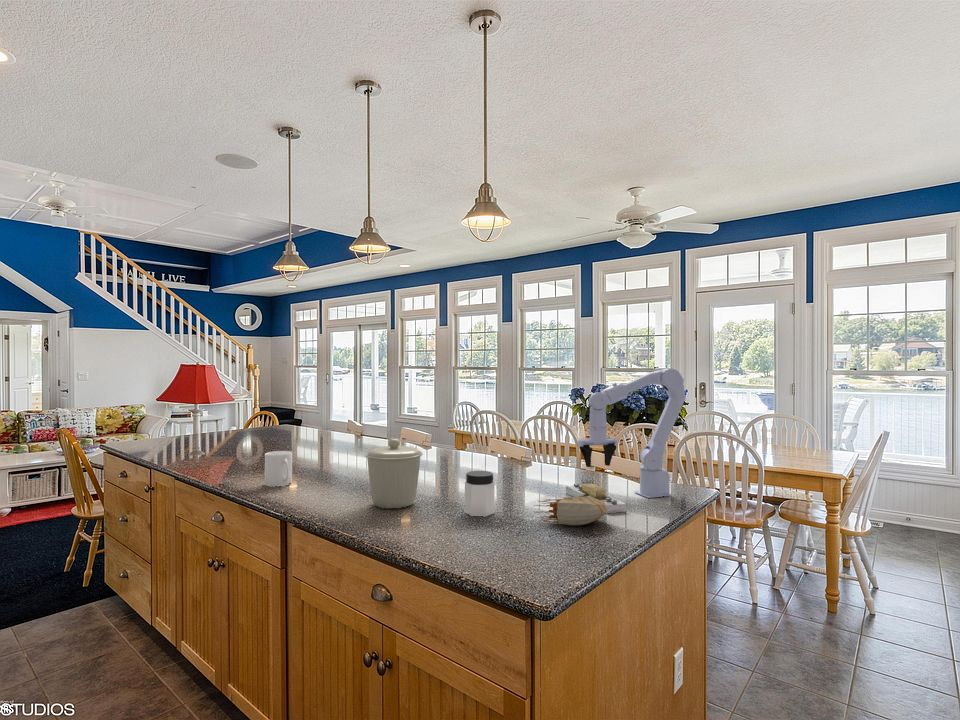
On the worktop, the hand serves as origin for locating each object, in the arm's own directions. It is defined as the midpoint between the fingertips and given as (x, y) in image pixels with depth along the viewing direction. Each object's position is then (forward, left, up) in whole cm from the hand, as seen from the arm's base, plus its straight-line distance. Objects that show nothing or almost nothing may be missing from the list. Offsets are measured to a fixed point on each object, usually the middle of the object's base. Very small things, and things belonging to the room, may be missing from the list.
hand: (597, 465), depth 184 cm
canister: (+70, -7, -10) cm, 71 cm away
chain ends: (+8, +10, -9) cm, 16 cm away
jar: (+47, +10, -10) cm, 49 cm away
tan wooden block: (+8, +10, -10) cm, 16 cm away
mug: (+105, -47, -10) cm, 115 cm away
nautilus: (+26, +27, -10) cm, 38 cm away
